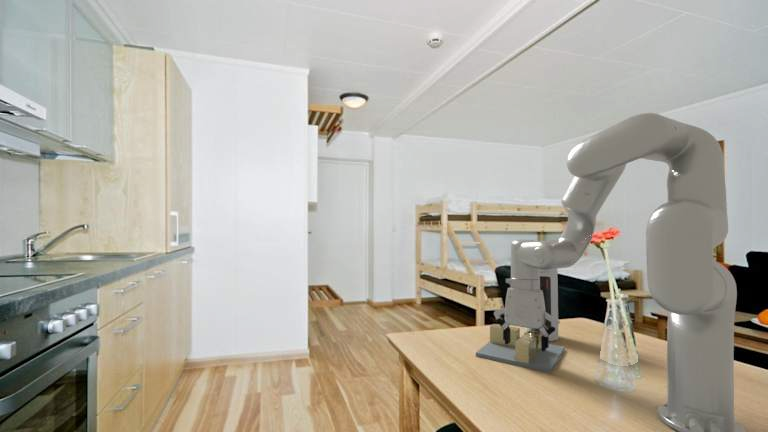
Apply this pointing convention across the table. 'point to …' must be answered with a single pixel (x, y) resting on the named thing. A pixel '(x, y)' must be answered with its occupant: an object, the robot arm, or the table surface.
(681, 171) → the robot arm
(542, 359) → the grey base plate
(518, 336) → the fixed leaf
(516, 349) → the beige block
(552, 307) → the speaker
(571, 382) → the table surface
